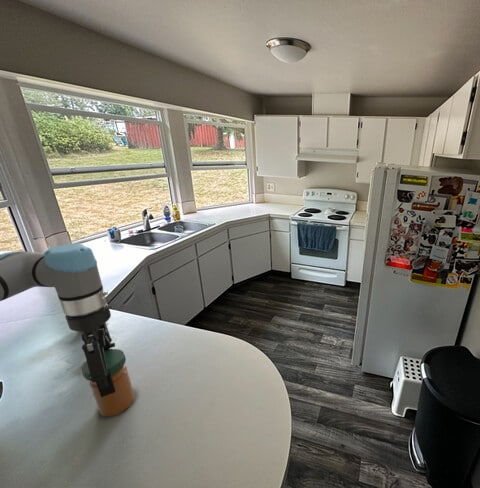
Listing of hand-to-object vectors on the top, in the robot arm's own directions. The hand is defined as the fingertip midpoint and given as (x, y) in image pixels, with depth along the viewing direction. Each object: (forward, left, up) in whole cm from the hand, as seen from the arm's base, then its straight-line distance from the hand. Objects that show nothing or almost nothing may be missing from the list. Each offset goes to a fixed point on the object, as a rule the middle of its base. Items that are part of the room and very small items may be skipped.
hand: (110, 381), depth 67 cm
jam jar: (0, 0, -8) cm, 8 cm away
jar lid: (0, 0, +7) cm, 7 cm away
